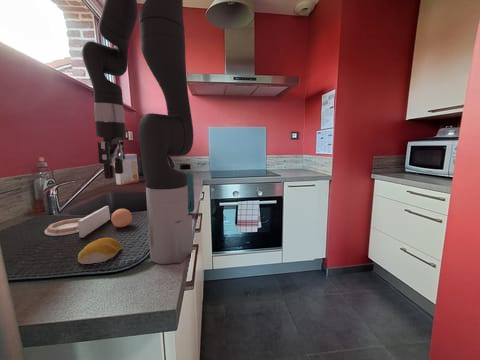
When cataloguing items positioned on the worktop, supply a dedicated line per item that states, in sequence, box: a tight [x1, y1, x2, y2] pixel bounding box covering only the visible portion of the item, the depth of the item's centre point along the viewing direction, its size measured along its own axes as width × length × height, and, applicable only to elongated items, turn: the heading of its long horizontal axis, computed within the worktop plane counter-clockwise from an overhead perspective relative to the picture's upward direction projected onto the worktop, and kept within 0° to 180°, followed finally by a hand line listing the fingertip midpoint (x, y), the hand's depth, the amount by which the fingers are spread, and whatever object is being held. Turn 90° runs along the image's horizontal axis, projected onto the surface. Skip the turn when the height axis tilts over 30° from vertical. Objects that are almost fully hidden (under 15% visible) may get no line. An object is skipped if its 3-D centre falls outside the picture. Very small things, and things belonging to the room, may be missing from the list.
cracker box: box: [114, 153, 140, 186], centre depth 151 cm, size 14×6×21 cm, turn 152°
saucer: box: [44, 217, 84, 237], centre depth 69 cm, size 12×12×2 cm
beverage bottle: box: [179, 163, 195, 214], centre depth 82 cm, size 6×7×20 cm
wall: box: [78, 205, 111, 238], centre depth 70 cm, size 16×1×5 cm, turn 7°
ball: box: [110, 208, 133, 228], centre depth 70 cm, size 6×6×6 cm
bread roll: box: [77, 237, 122, 265], centre depth 52 cm, size 8×9×4 cm
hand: (114, 175), depth 65 cm, fingers open, 8 cm apart
